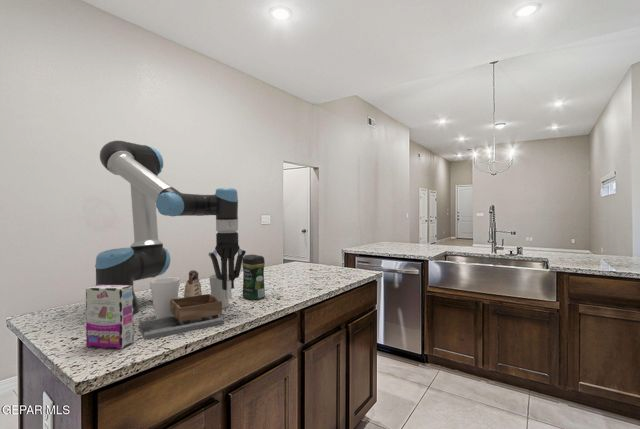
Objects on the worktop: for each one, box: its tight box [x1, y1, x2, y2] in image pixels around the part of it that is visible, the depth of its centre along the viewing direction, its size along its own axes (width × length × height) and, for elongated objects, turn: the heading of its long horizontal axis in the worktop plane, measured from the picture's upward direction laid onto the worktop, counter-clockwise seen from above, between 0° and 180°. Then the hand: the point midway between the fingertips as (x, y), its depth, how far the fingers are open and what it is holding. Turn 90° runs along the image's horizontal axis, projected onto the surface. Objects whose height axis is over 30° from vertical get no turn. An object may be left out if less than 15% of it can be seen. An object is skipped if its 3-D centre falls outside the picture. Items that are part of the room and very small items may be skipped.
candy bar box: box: [85, 284, 135, 350], centre depth 91 cm, size 11×5×16 cm, turn 81°
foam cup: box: [149, 277, 181, 319], centre depth 116 cm, size 10×9×13 cm
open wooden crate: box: [170, 293, 223, 324], centre depth 110 cm, size 13×13×5 cm
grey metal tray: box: [138, 316, 225, 341], centre depth 107 cm, size 14×23×2 cm, turn 126°
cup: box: [208, 273, 230, 309], centre depth 128 cm, size 8×8×12 cm
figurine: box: [183, 269, 203, 298], centre depth 142 cm, size 7×7×12 cm
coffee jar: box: [241, 254, 266, 301], centre depth 141 cm, size 10×8×19 cm
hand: (228, 298), depth 116 cm, fingers closed
